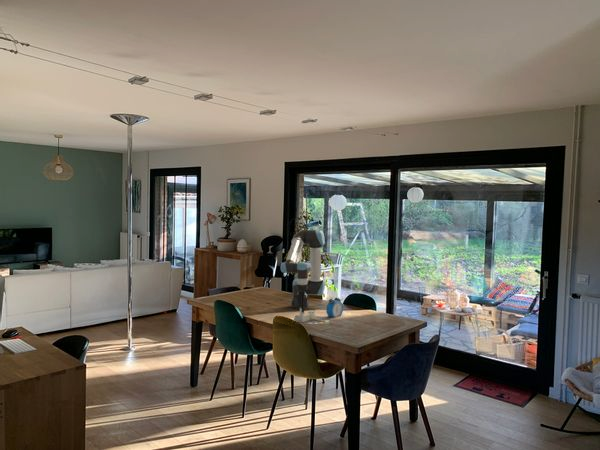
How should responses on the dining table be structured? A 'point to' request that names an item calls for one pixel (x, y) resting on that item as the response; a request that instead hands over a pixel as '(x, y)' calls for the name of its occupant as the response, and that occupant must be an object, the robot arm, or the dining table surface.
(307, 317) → the dial
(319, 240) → the robot arm
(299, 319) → the tuner board
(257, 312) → the dining table surface
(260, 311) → the dining table surface
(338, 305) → the alarm clock
